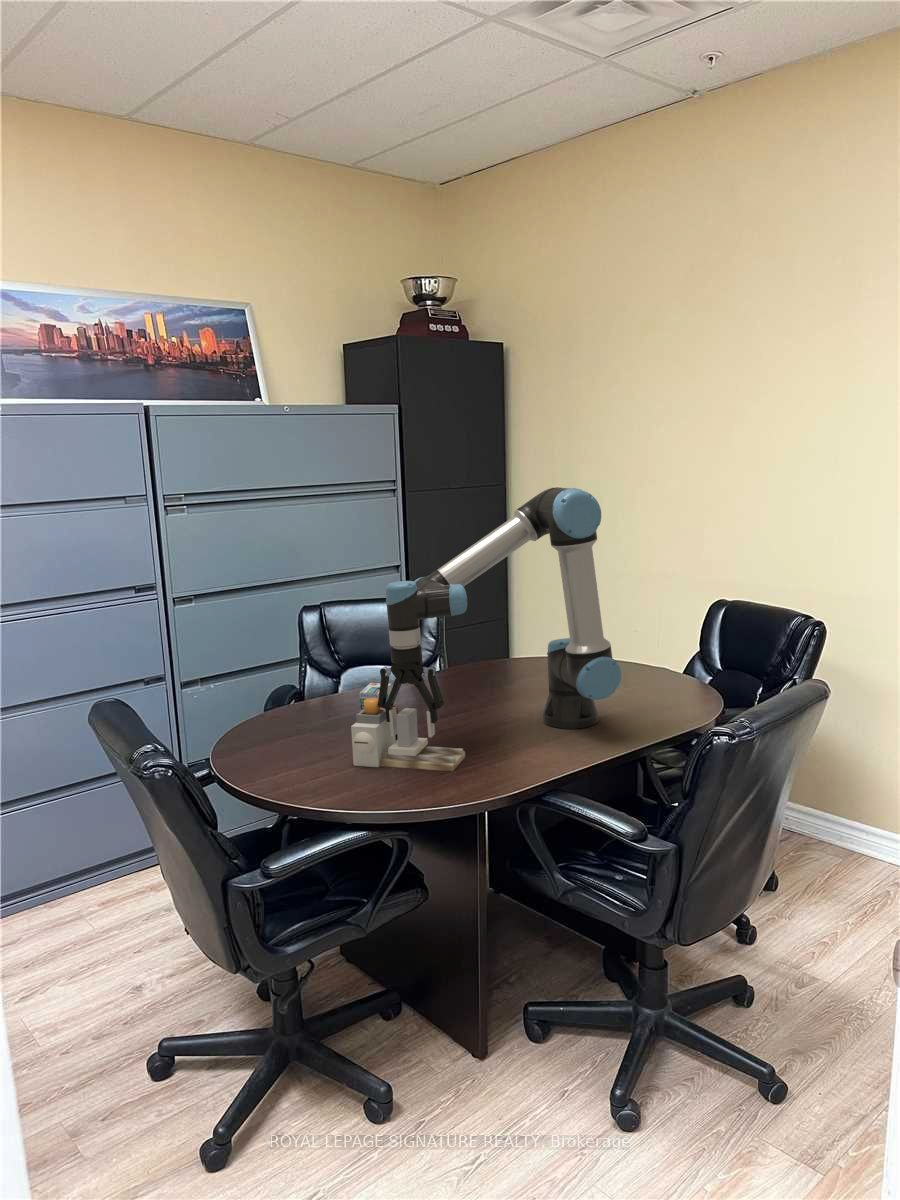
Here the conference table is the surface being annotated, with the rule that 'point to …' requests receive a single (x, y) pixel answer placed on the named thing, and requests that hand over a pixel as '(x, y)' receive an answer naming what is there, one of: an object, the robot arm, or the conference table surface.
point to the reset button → (371, 706)
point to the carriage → (407, 734)
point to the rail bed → (426, 759)
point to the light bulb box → (372, 692)
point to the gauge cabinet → (370, 738)
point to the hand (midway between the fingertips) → (413, 734)
